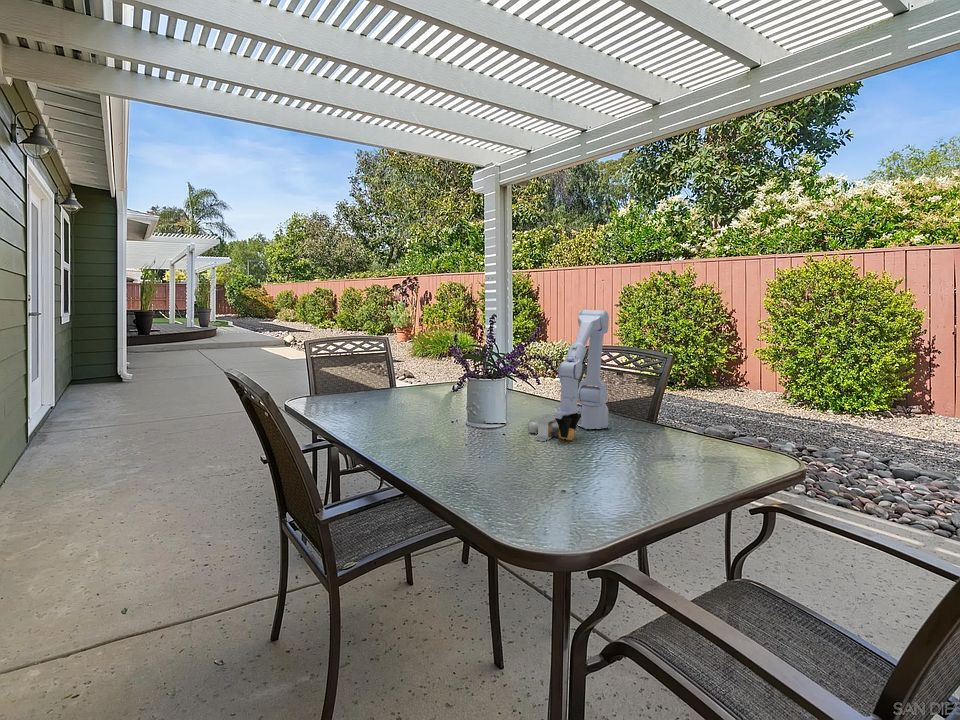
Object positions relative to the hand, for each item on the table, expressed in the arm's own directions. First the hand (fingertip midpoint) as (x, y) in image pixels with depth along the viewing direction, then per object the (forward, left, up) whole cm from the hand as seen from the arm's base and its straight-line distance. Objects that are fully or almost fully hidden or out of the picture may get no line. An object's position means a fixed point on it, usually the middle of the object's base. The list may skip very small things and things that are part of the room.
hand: (567, 435), depth 188 cm
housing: (+4, -5, -1) cm, 7 cm away
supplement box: (+16, -29, -2) cm, 33 cm away
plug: (+4, -5, -1) cm, 7 cm away
